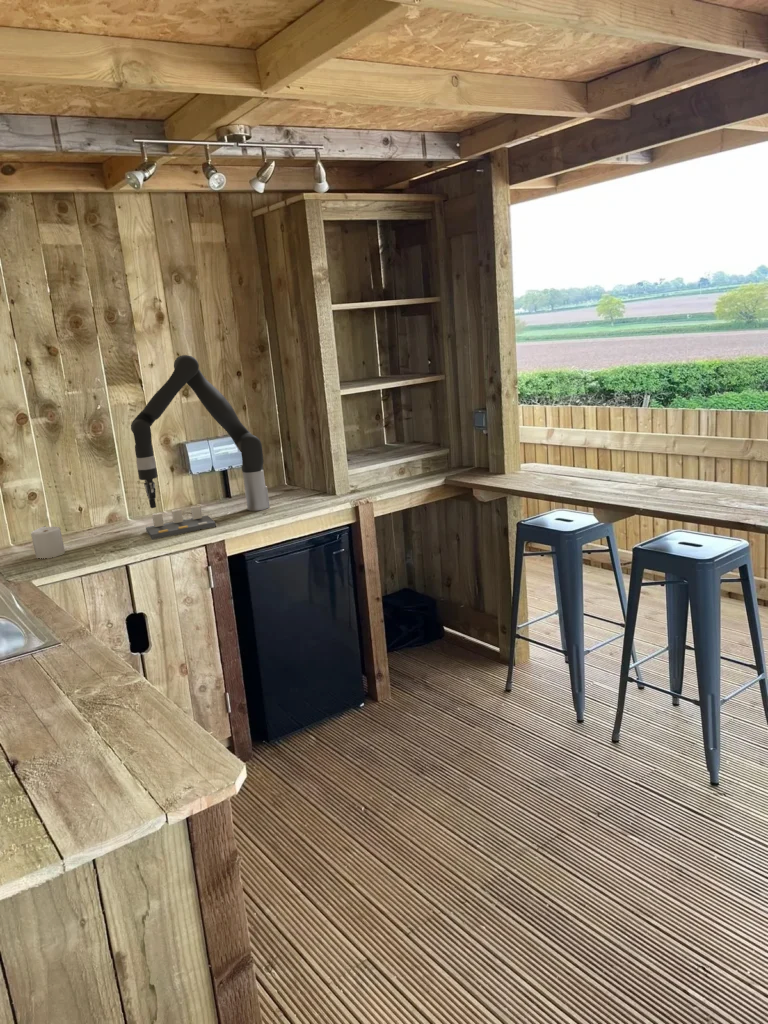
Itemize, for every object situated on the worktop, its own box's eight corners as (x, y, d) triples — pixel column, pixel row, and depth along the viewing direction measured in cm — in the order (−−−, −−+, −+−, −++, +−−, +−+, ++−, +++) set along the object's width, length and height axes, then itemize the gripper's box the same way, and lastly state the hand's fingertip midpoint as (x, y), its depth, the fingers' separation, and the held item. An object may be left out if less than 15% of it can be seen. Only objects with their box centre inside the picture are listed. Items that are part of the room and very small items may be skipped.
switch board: (208, 519, 335) (207, 514, 334) (216, 526, 322) (215, 521, 322) (146, 531, 324) (145, 526, 324) (152, 539, 312) (150, 533, 311)
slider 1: (162, 523, 325) (160, 512, 324) (164, 525, 322) (162, 513, 321) (153, 525, 324) (152, 514, 322) (155, 527, 321) (153, 515, 320)
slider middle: (182, 520, 328) (180, 508, 327) (183, 521, 326) (181, 510, 324) (173, 521, 327) (171, 510, 325) (174, 523, 324) (172, 511, 323)
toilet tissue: (47, 560, 297) (41, 535, 294) (28, 557, 303) (22, 532, 300) (71, 551, 305) (66, 527, 303) (51, 549, 312) (46, 525, 309)
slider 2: (200, 516, 331) (199, 505, 330) (202, 518, 329) (200, 506, 327) (192, 518, 330) (190, 506, 329) (193, 519, 327) (192, 508, 326)
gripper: (158, 468, 319) (165, 509, 323) (153, 463, 330) (159, 503, 335) (139, 471, 316) (146, 512, 320) (135, 466, 327) (141, 506, 332)
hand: (153, 507), depth 327 cm, fingers closed
